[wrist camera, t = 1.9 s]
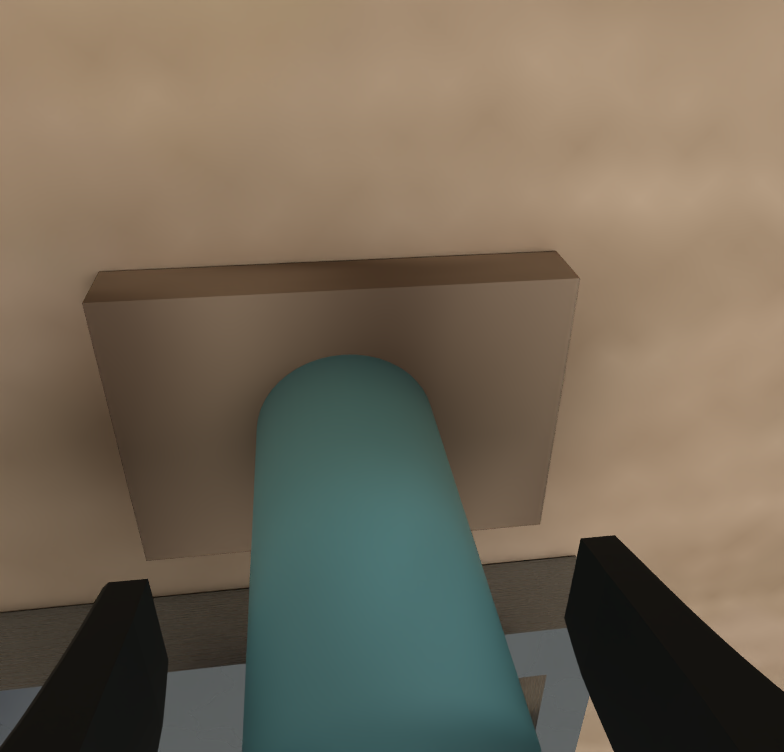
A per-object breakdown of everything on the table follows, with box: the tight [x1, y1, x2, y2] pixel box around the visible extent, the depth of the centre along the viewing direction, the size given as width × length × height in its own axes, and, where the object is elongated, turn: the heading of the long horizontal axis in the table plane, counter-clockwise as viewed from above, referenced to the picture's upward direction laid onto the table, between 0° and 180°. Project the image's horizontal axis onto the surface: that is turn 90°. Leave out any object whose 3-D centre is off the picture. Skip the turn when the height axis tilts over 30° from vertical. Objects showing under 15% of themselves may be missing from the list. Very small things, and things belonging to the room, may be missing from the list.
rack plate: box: [0, 556, 589, 752], centre depth 22 cm, size 17×10×3 cm, turn 90°
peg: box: [242, 355, 541, 752], centre depth 13 cm, size 4×4×8 cm
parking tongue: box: [82, 251, 580, 561], centre depth 17 cm, size 10×7×2 cm
